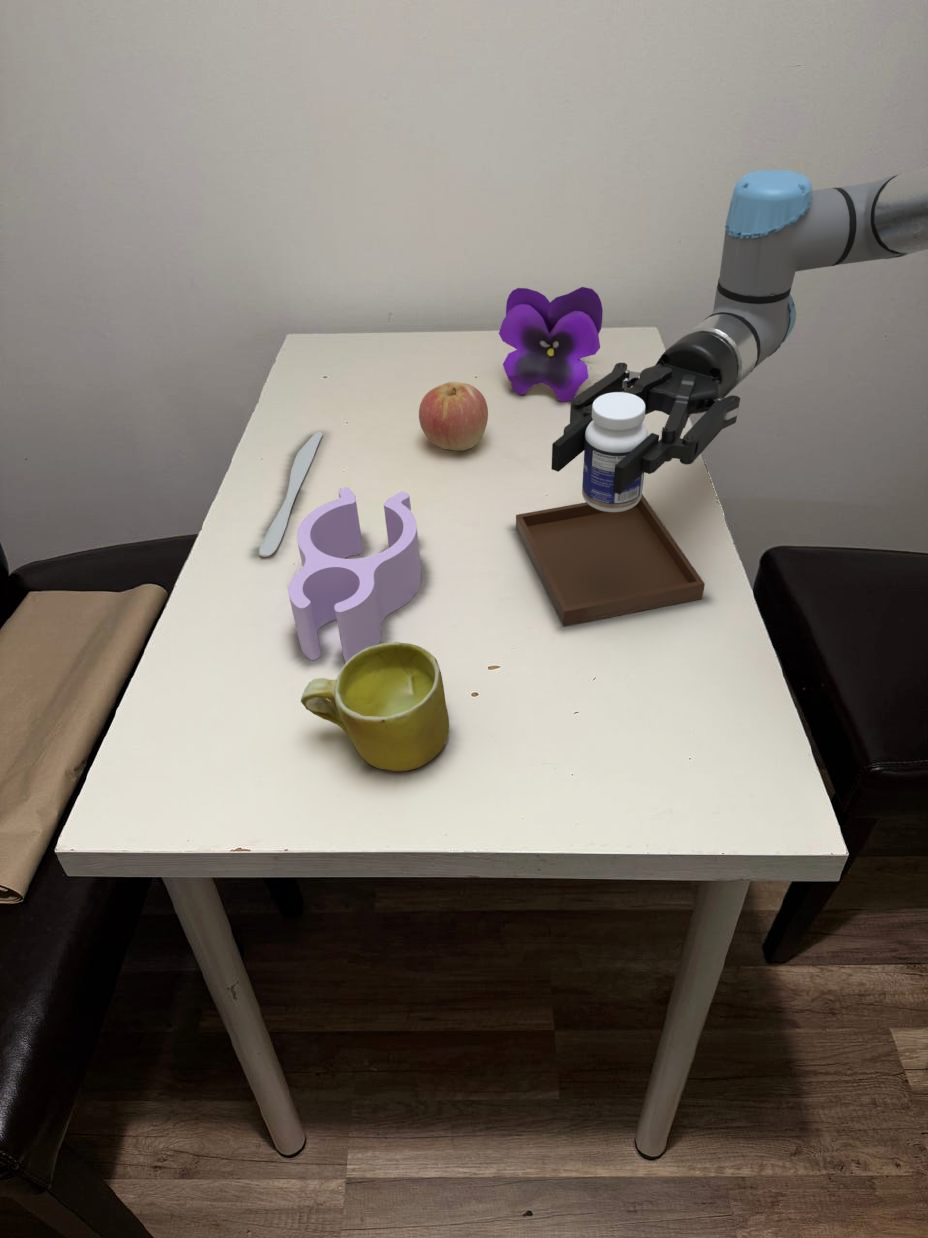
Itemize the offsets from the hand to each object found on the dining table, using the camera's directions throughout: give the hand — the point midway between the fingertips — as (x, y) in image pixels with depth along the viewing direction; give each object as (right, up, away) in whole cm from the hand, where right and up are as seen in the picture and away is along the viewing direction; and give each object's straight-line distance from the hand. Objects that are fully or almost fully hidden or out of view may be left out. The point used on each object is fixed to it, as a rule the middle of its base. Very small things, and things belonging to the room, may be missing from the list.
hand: (586, 468), depth 79 cm
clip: (-22, -11, +17) cm, 30 cm away
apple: (-12, +10, +39) cm, 42 cm away
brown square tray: (+5, -7, +19) cm, 21 cm away
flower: (+2, +22, +51) cm, 55 cm away
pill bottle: (+3, -2, +7) cm, 8 cm away
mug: (-18, -24, +2) cm, 30 cm away
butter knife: (-32, +3, +32) cm, 45 cm away
